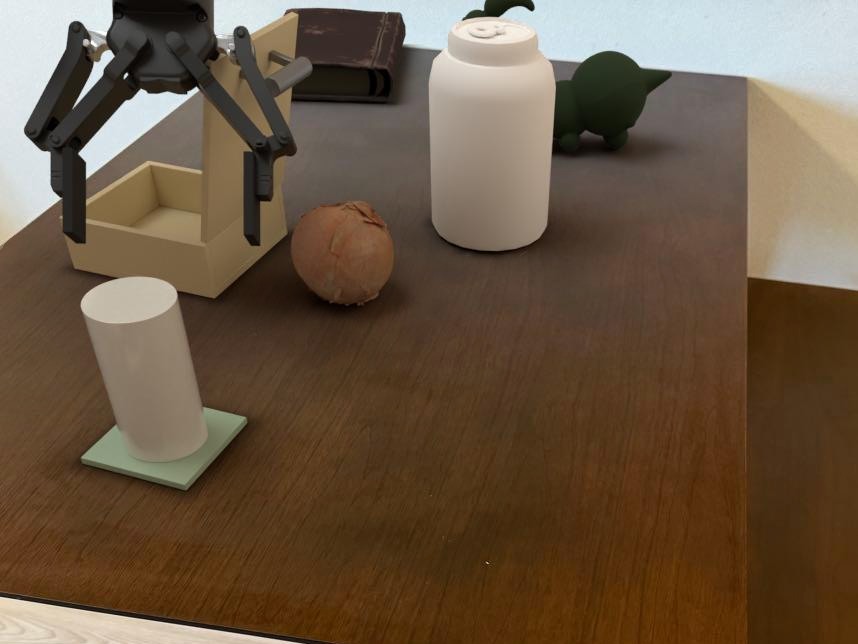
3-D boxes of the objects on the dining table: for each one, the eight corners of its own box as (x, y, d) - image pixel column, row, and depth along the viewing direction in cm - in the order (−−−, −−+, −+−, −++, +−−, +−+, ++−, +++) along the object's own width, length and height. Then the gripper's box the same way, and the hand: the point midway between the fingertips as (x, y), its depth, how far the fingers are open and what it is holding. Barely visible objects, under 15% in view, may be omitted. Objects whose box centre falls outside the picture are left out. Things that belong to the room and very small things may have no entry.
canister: (105, 451, 74) (60, 312, 65) (153, 405, 78) (117, 269, 70) (179, 470, 72) (142, 330, 64) (223, 422, 77) (195, 286, 68)
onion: (379, 309, 97) (417, 216, 93) (361, 335, 89) (402, 233, 84) (291, 268, 96) (325, 171, 91) (264, 290, 87) (300, 184, 83)
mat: (82, 463, 73) (80, 457, 73) (150, 399, 80) (148, 393, 79) (186, 490, 72) (184, 484, 71) (247, 423, 78) (246, 417, 77)
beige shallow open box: (74, 268, 95) (58, 217, 91) (158, 208, 105) (147, 160, 101) (214, 298, 92) (204, 246, 88) (287, 233, 102) (281, 184, 98)
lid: (203, 59, 76) (255, 81, 76) (291, 11, 86) (337, 30, 86) (200, 241, 88) (244, 260, 88) (277, 179, 98) (317, 196, 98)
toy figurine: (473, 173, 119) (674, 157, 119) (459, 3, 106) (685, -14, 106) (471, 143, 126) (661, 128, 126) (457, -20, 113) (670, -36, 113)
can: (461, 263, 99) (461, 54, 85) (413, 213, 106) (406, 14, 93) (568, 241, 103) (584, 39, 89) (514, 194, 111) (521, 2, 97)
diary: (406, 45, 148) (405, 9, 145) (395, 104, 130) (393, 65, 127) (284, 41, 148) (280, 5, 144) (255, 100, 130) (250, 60, 126)
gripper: (330, 3, 80) (331, 256, 80) (21, -6, 79) (20, 252, 78) (317, -54, 73) (318, 225, 72) (-24, -66, 71) (-26, 219, 71)
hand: (163, 239), depth 75 cm, fingers open, 13 cm apart
